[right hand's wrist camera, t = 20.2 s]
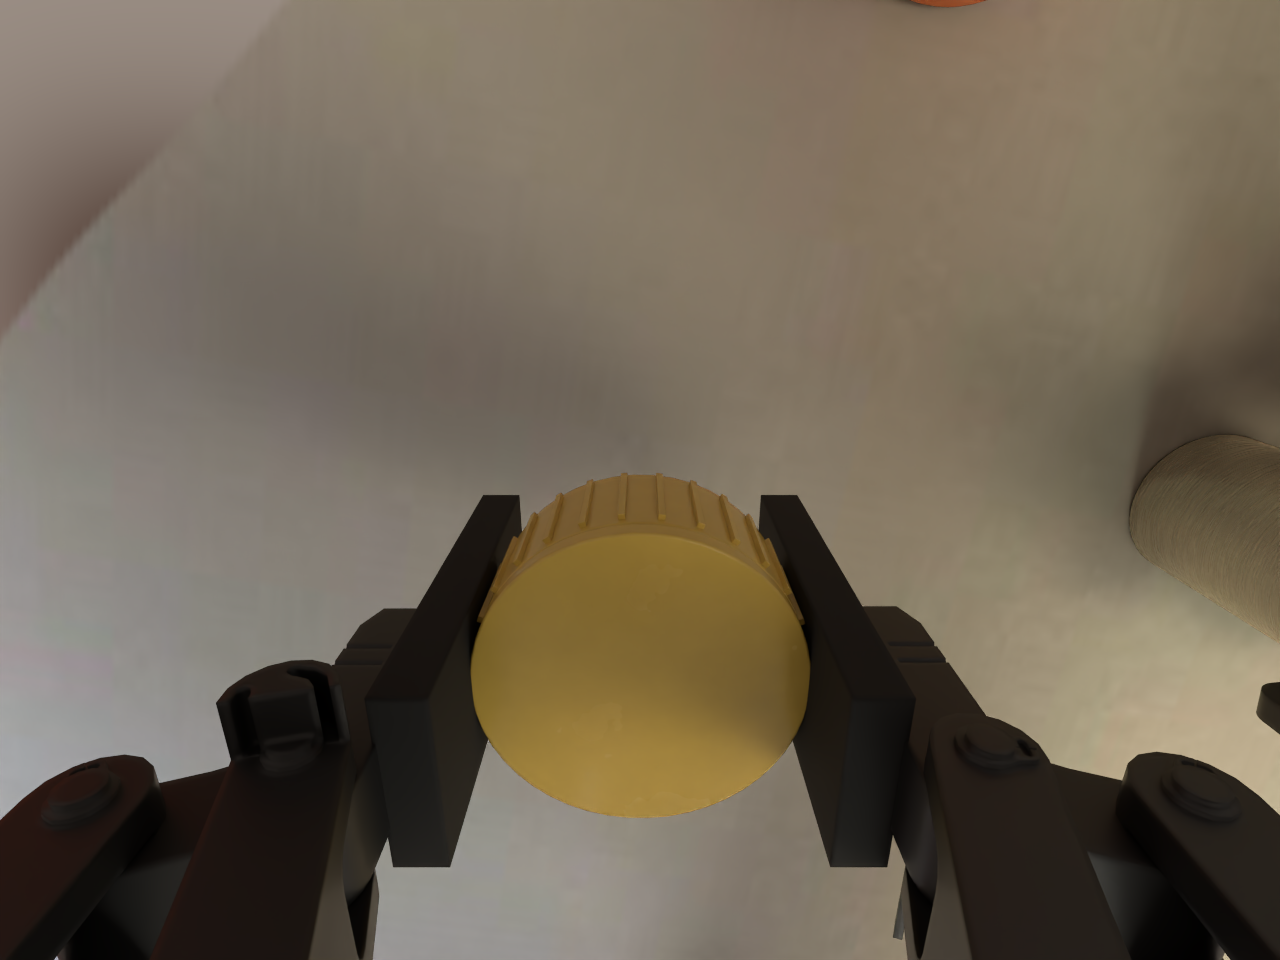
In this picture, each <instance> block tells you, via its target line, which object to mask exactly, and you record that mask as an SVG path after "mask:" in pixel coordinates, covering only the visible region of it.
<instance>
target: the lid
mask: <svg viewBox="0 0 1280 960" xmlns="http://www.w3.org/2000/svg"><path fill="white" fill-rule="evenodd" d="M477 622H479V623H481V625H480V627H479V630H478V632H477V635H476V637H475V641H474V646H473V650H472V654H471V662H470V671H471V682H472V692H473V701H474V707H475V711H476V714H477V717H478V719H479V722H480V724H481V727H482V729H483V731H484V733H485V734H486V736H487V738H488V740H489V741H490V743H491V745H492V746H493V748H494V749H495V750H496V751H497V753H498V754H499V755H500V756H501V758H502V759H503V760H504V761H505V762H506V763H507V764H508V765H509V766H510V767H511V768H512V769H513V770H514V771H515V772H516V773H517V774H518V775H519V776H520V777H522V778H523V779H524V780H526V781H527V782H528V783H530V784H531V785H532V786H534V787H535V788H537V789H539V790H540V791H542V792H544V793H545V794H547V795H549V796H551V797H553V798H555V799H557V800H559V801H562V802H564V803H566V804H568V805H571V806H574V807H577V808H580V809H583V810H586V811H590V812H595V813H599V814H604V815H609V816H618V817H627V818H653V817H664V816H672V815H677V814H683V813H688V812H691V811H695V810H698V809H701V808H705V807H708V806H710V805H713V804H715V803H718V802H720V801H722V800H725V799H727V798H729V797H731V796H732V795H734V794H736V793H738V792H740V791H741V790H743V789H745V788H746V787H748V786H749V785H750V784H752V783H753V782H755V781H756V780H757V779H759V778H760V777H761V776H762V775H763V774H764V773H765V772H767V771H768V770H769V769H770V768H771V767H772V766H773V765H774V764H775V763H776V762H777V760H778V759H779V758H780V757H781V756H782V755H783V753H784V752H785V751H786V750H787V748H788V746H789V745H790V743H791V742H792V740H793V739H794V737H795V735H796V734H797V731H798V729H799V727H800V725H801V723H802V720H803V718H804V715H805V711H806V707H807V698H808V689H809V679H810V668H811V660H810V655H809V650H808V645H807V641H806V638H805V636H804V633H803V630H802V627H801V625H804V624H805V621H804V618H803V616H802V613H801V611H800V608H799V606H798V604H797V601H796V599H795V596H794V594H793V591H792V589H791V587H790V584H789V582H788V579H787V577H786V575H785V572H784V570H783V567H782V565H780V562H779V560H778V557H777V555H776V552H775V550H774V548H773V545H772V543H771V541H770V539H769V538H767V539H766V540H765V539H764V537H763V536H762V535H761V533H760V532H759V531H758V529H757V528H756V526H755V523H754V521H753V518H752V517H751V516H750V515H749V514H747V515H746V516H745V515H744V514H743V513H742V512H741V511H740V510H739V509H737V508H736V507H735V506H733V505H732V504H731V503H730V502H728V499H727V497H726V496H725V495H723V494H722V495H721V496H719V495H717V494H715V493H713V492H712V491H710V490H708V489H705V488H703V487H700V486H698V485H697V482H695V481H692V480H691V481H690V482H686V481H683V480H679V479H675V478H670V477H663V474H660V473H656V475H628V474H627V473H621V476H617V477H611V478H607V479H602V480H598V481H593V479H592V480H589V481H587V484H586V485H583V486H581V487H578V488H576V489H574V490H572V491H570V492H568V493H566V494H564V495H563V494H562V493H560V494H558V495H556V498H555V501H553V502H552V503H550V504H549V505H548V506H546V507H545V508H544V509H543V510H542V511H540V512H539V513H538V514H536V513H535V512H534V513H533V514H532V515H531V516H530V519H529V521H528V524H527V526H526V527H525V529H524V530H523V531H522V532H521V533H520V535H519V537H518V538H517V537H515V536H514V537H513V538H512V540H511V542H510V544H509V547H508V549H507V552H506V554H505V556H504V559H503V561H502V563H500V565H499V568H498V570H497V573H496V575H495V577H494V580H493V582H492V584H491V587H490V589H489V592H488V594H487V596H486V599H485V601H484V603H483V606H482V608H481V611H480V613H479V615H478V618H477Z"/></svg>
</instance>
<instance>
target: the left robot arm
mask: <svg viewBox="0 0 1280 960" xmlns="http://www.w3.org/2000/svg"><path fill="white" fill-rule="evenodd" d="M1256 713H1257V716H1258V717H1259V718H1260V719H1261V720H1262V721H1263V722H1264V723H1266V724H1267V725H1268V726H1270V727H1271V728H1272V729H1274V730H1275V731H1276V732H1277V733H1279V734H1280V682H1276V683H1268V684H1265V685H1263V686H1262V688H1261V693H1260V697H1259V702H1258V706H1257V711H1256Z"/></svg>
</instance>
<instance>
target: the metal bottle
mask: <svg viewBox="0 0 1280 960" xmlns="http://www.w3.org/2000/svg"><path fill="white" fill-rule="evenodd" d="M1129 524H1130V532H1131V536H1132V539H1133V541H1134V544H1135V546H1136V548H1137V549H1138V550H1139V552H1140V553H1141V554H1142V555H1143V556H1144V557H1145V558H1146V559H1147V560H1148V561H1150V562H1151V563H1152V564H1154V565H1156V566H1157V567H1159V568H1160V569H1162V570H1163V571H1165V572H1167V573H1168V574H1170V575H1171V576H1173V577H1175V578H1176V579H1178V580H1179V581H1181V582H1183V583H1184V584H1186V585H1187V586H1189V587H1190V588H1192V589H1194V590H1195V591H1197V592H1198V593H1200V594H1202V595H1203V596H1205V597H1206V598H1208V599H1210V600H1211V601H1213V602H1214V603H1216V604H1217V605H1219V606H1221V607H1222V608H1224V609H1225V610H1227V611H1229V612H1230V613H1232V614H1233V615H1235V616H1237V617H1238V618H1240V619H1241V620H1243V621H1244V622H1246V623H1248V624H1249V625H1251V626H1252V627H1254V628H1256V629H1257V630H1259V631H1260V632H1262V633H1264V634H1265V635H1267V636H1268V637H1270V638H1271V639H1273V640H1275V641H1276V642H1278V643H1279V644H1280V448H1278V447H1275V446H1272V445H1269V444H1266V443H1263V442H1260V441H1257V440H1254V439H1251V438H1248V437H1244V436H1239V435H1215V436H1209V437H1204V438H1201V439H1198V440H1195V441H1192V442H1190V443H1187V444H1185V445H1183V446H1181V447H1179V448H1178V449H1176V450H1174V451H1173V452H1171V453H1170V454H1168V455H1167V456H1166V457H1164V458H1163V459H1162V460H1161V461H1160V462H1159V463H1157V464H1156V465H1155V467H1154V468H1153V469H1152V470H1151V471H1150V472H1149V473H1148V474H1147V476H1146V477H1145V478H1144V480H1143V481H1142V483H1141V485H1140V486H1139V488H1138V490H1137V492H1136V494H1135V496H1134V499H1133V502H1132V505H1131V510H1130V520H1129Z"/></svg>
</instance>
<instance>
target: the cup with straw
mask: <svg viewBox="0 0 1280 960" xmlns="http://www.w3.org/2000/svg"><path fill="white" fill-rule="evenodd" d="M911 1H914V2H917V3H921V4H925V5H931V6H938V7H957V6H965V5H971V4H975V3H979V2H982V1H986V0H911Z"/></svg>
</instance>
